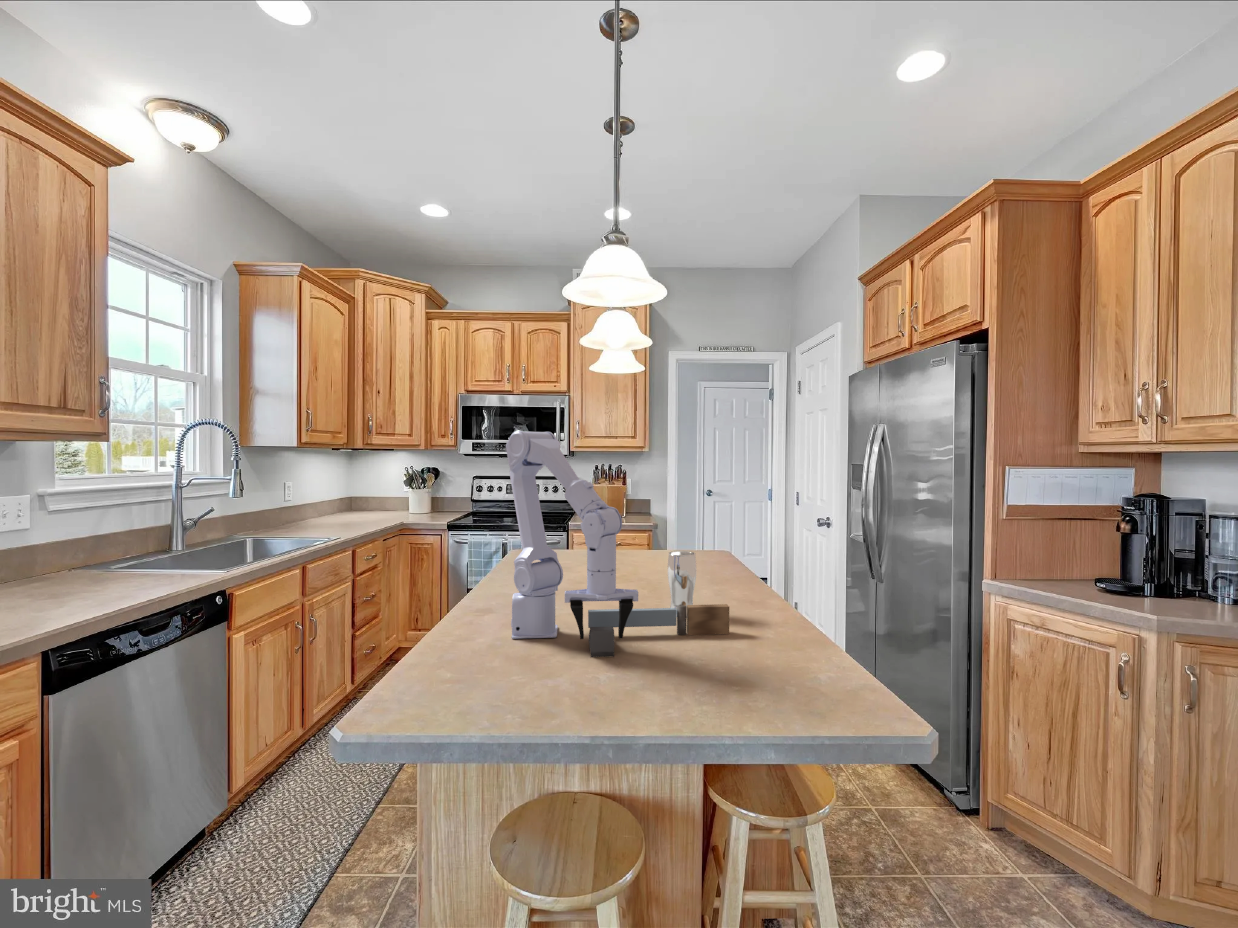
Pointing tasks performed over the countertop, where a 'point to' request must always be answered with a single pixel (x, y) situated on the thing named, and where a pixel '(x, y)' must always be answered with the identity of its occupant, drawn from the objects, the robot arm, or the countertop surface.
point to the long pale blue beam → (633, 617)
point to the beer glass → (681, 578)
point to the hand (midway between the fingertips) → (601, 637)
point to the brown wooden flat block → (703, 619)
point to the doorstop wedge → (601, 641)
